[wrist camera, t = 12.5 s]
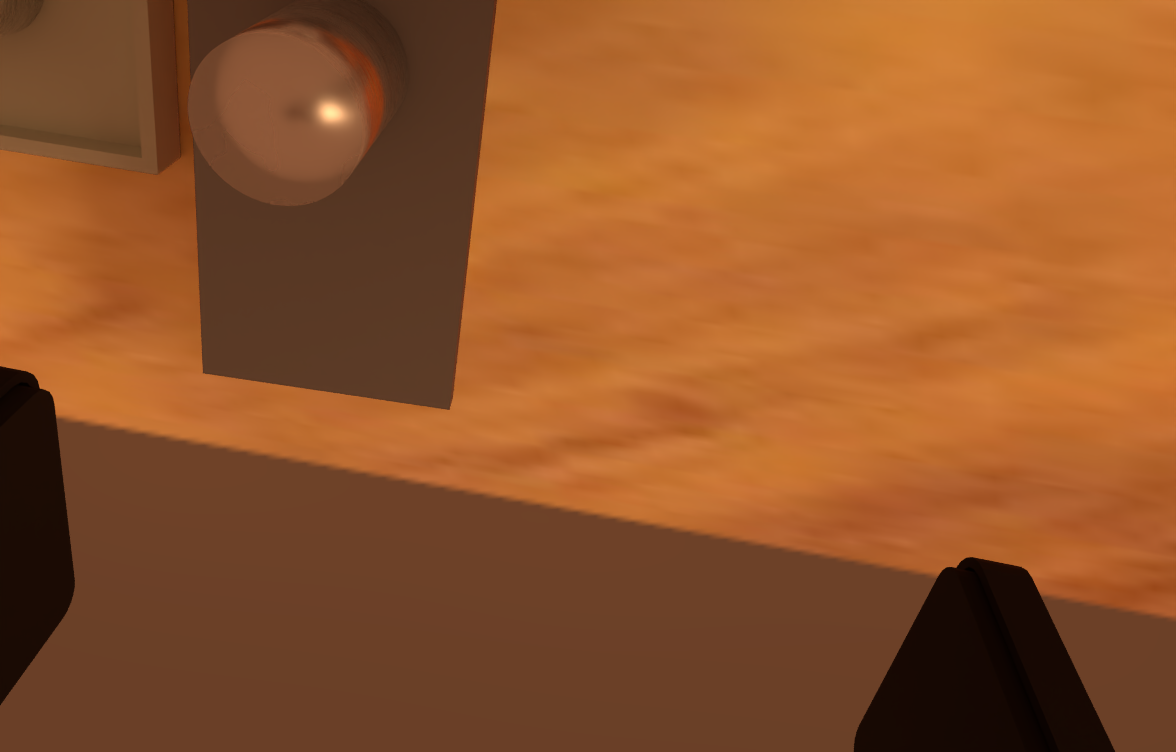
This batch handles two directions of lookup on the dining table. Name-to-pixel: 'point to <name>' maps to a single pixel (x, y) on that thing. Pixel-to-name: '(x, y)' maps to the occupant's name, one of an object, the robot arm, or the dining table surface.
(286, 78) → the knob
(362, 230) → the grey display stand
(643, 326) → the dining table surface
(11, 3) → the cylinder
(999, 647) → the robot arm
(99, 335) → the dining table surface
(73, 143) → the grey square tray
